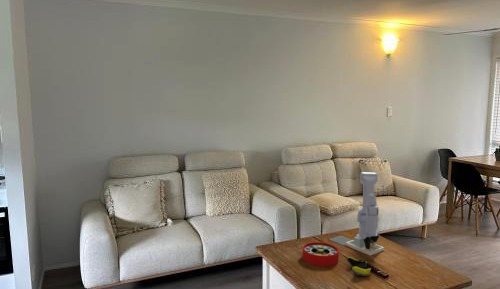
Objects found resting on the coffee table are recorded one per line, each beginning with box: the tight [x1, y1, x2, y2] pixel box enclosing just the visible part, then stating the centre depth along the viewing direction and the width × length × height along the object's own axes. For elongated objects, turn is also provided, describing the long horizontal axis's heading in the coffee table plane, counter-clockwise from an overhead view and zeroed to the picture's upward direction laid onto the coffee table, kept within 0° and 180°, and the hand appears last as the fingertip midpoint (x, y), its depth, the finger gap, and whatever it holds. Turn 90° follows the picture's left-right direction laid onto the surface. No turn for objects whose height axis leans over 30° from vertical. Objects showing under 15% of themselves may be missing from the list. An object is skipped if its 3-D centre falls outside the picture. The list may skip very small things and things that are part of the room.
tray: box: [345, 239, 385, 257], centre depth 226 cm, size 18×13×2 cm
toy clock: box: [302, 241, 340, 267], centre depth 211 cm, size 20×6×20 cm
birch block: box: [365, 241, 377, 251], centre depth 222 cm, size 4×4×5 cm
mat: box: [328, 235, 353, 246], centre depth 237 cm, size 12×12×1 cm
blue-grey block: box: [353, 235, 365, 247], centre depth 229 cm, size 4×4×5 cm
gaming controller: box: [346, 256, 372, 277], centre depth 196 cm, size 15×6×10 cm
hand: (370, 247), depth 223 cm, fingers closed on birch block, 4 cm apart
